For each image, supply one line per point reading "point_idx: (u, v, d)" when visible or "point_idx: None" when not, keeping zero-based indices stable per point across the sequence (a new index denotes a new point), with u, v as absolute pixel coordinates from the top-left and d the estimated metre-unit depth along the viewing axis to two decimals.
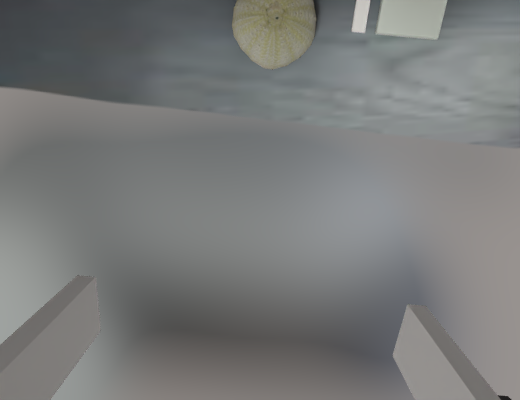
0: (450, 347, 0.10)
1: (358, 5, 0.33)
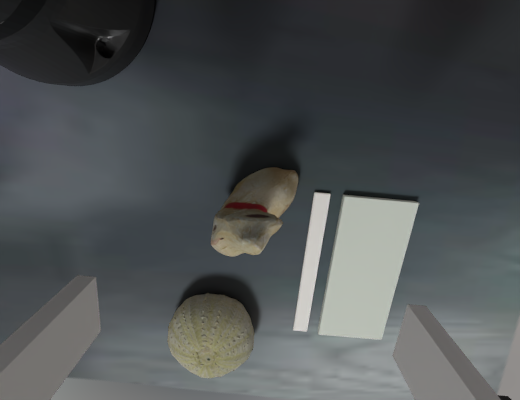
0: (450, 347, 0.10)
1: (299, 311, 0.32)
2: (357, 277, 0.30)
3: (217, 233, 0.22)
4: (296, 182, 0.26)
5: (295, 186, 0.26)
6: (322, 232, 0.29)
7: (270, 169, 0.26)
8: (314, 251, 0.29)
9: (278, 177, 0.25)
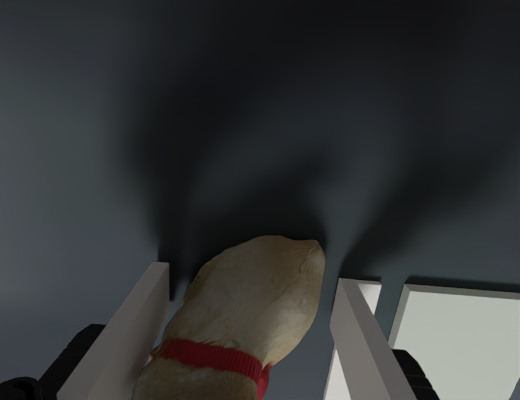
0: (363, 310, 0.11)
1: None
2: None
3: None
4: (322, 270, 0.13)
5: (320, 279, 0.12)
6: None
7: (267, 244, 0.12)
8: (345, 381, 0.16)
9: (285, 272, 0.11)
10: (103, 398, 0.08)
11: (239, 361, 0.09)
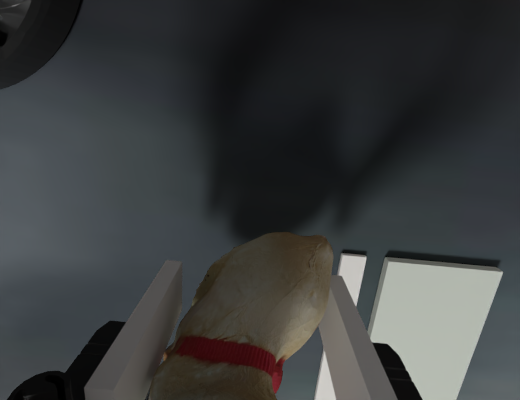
0: (347, 306, 0.12)
1: None
2: None
3: None
4: (330, 264, 0.13)
5: (329, 273, 0.12)
6: None
7: (276, 241, 0.13)
8: None
9: (294, 267, 0.11)
10: (126, 392, 0.08)
11: (253, 355, 0.10)
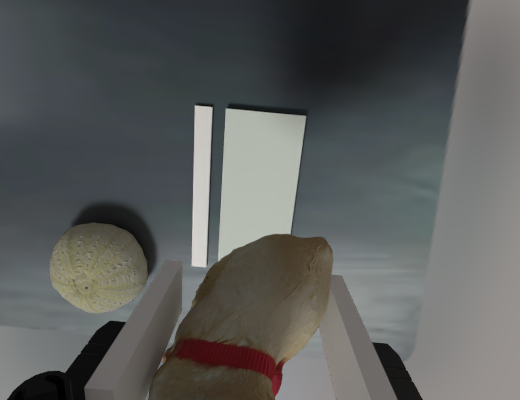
0: (347, 306, 0.12)
1: (195, 244, 0.30)
2: (250, 203, 0.28)
3: None
4: (330, 266, 0.13)
5: (329, 275, 0.12)
6: (208, 152, 0.27)
7: (275, 243, 0.13)
8: (203, 174, 0.27)
9: (294, 269, 0.11)
10: (126, 392, 0.08)
11: (253, 359, 0.09)
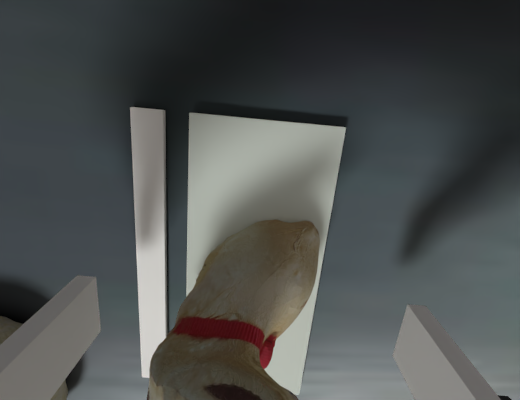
0: (450, 347, 0.10)
1: (145, 344, 0.17)
2: None
3: None
4: (317, 247, 0.13)
5: (315, 255, 0.13)
6: (161, 193, 0.14)
7: (263, 228, 0.13)
8: (152, 232, 0.15)
9: (279, 249, 0.12)
10: None
11: (242, 330, 0.10)
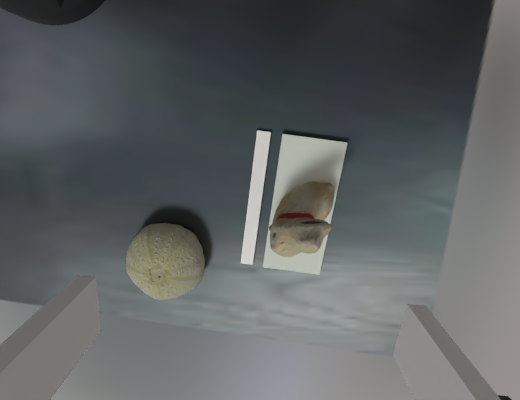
0: (450, 347, 0.10)
1: (245, 244, 0.35)
2: None
3: (278, 239, 0.27)
4: (333, 192, 0.31)
5: (333, 195, 0.31)
6: (264, 168, 0.33)
7: (311, 183, 0.31)
8: (258, 186, 0.33)
9: (319, 190, 0.30)
10: None
11: (307, 215, 0.28)
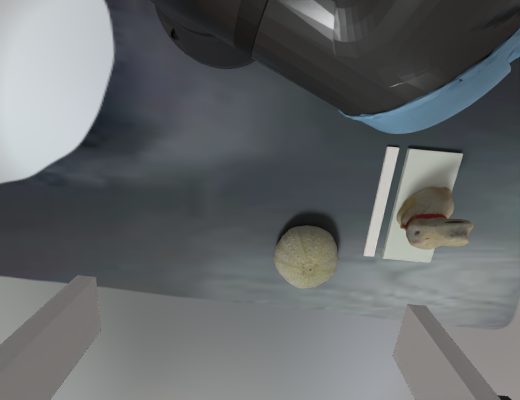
0: (450, 347, 0.10)
1: (369, 240, 0.42)
2: None
3: (423, 235, 0.34)
4: (451, 195, 0.38)
5: (452, 198, 0.38)
6: (391, 177, 0.39)
7: (433, 188, 0.38)
8: (384, 192, 0.40)
9: (444, 194, 0.37)
10: None
11: (441, 215, 0.35)
